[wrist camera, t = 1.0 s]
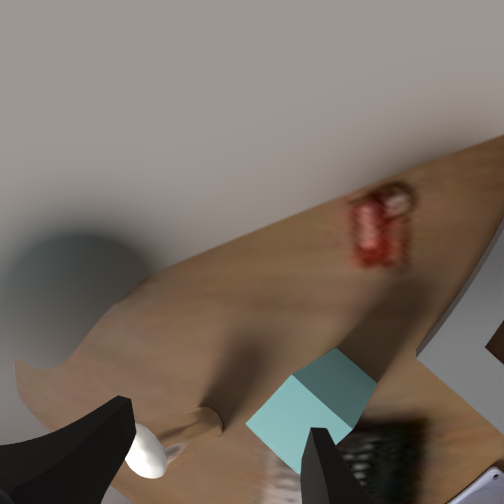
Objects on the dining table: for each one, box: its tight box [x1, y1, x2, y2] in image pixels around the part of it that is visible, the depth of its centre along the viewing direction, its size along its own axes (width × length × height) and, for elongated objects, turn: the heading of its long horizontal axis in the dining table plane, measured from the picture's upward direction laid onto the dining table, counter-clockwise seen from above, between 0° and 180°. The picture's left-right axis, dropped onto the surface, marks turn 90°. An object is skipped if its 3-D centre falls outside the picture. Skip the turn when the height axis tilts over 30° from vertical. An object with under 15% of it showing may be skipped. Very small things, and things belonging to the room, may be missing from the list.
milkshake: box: [125, 407, 223, 478], centre depth 21 cm, size 4×5×10 cm
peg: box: [246, 347, 377, 474], centre depth 17 cm, size 4×4×8 cm
